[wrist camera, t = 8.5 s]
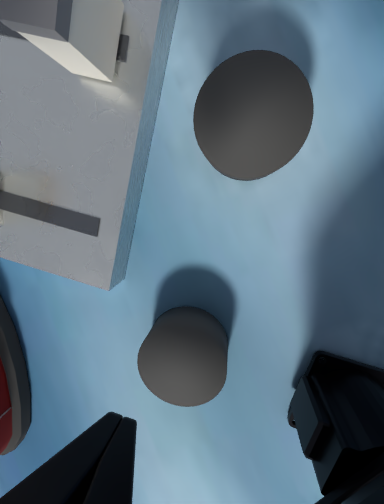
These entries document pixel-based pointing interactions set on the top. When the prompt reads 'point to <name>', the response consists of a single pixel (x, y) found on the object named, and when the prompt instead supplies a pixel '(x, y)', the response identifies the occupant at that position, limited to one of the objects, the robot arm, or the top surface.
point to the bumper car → (12, 386)
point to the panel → (79, 149)
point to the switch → (70, 31)
